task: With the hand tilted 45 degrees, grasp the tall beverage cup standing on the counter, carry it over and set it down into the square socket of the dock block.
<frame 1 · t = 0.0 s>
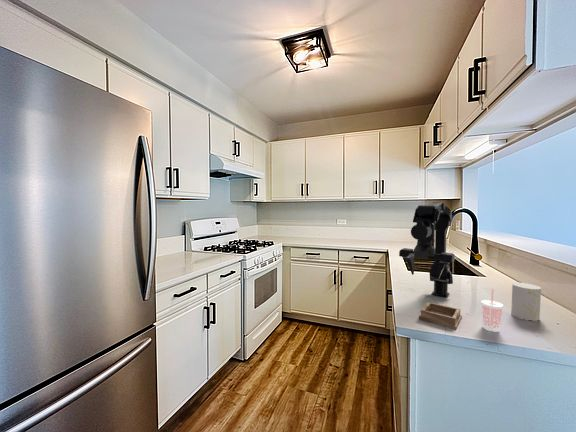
hand: (425, 276, 104), 15 cm above the counter, tool pointing down, fingers open, 9 cm apart
grey upright cylinder: (524, 316, 102), on the counter
beverage cup: (491, 329, 92), on the counter
dock: (440, 318, 100), on the counter
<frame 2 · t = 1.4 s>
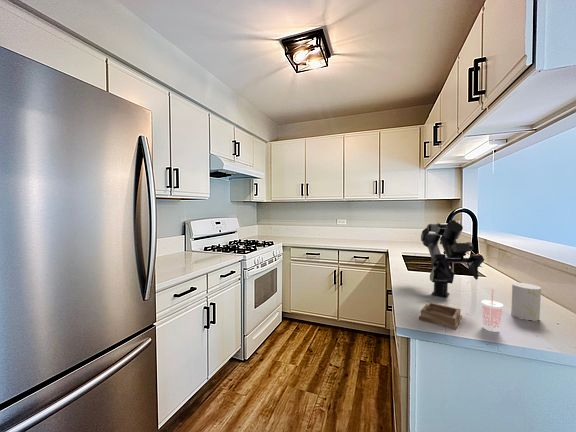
hand: (464, 278, 104), 14 cm above the counter, tool tilted 45°, fingers open, 9 cm apart
nothing on the counter moved.
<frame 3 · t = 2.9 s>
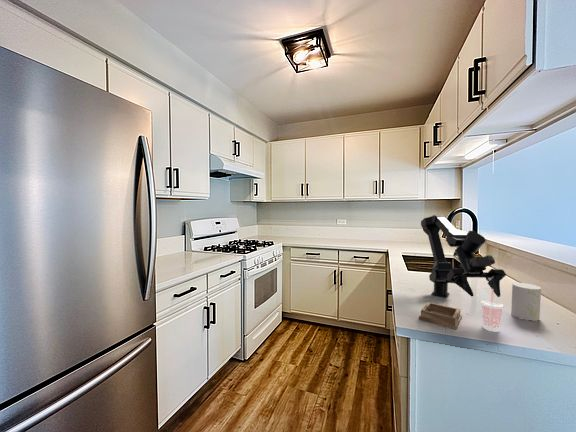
hand: (485, 296, 95), 10 cm above the counter, tool tilted 45°, fingers open, 9 cm apart
nothing on the counter moved.
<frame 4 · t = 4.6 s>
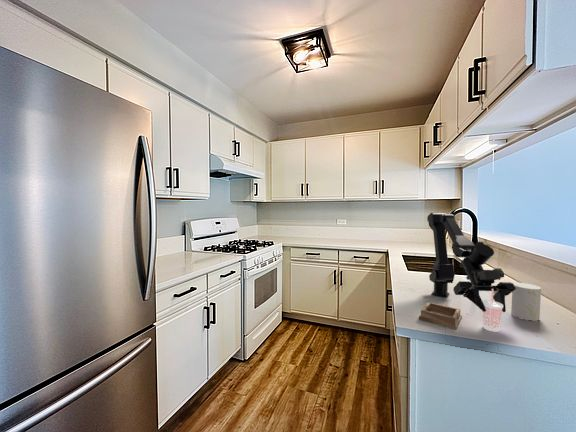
hand: (494, 311, 90), 7 cm above the counter, tool tilted 45°, fingers closed on beverage cup, 6 cm apart
beverage cup: (491, 329, 92), on the counter, touching gripper
everything else where it was.
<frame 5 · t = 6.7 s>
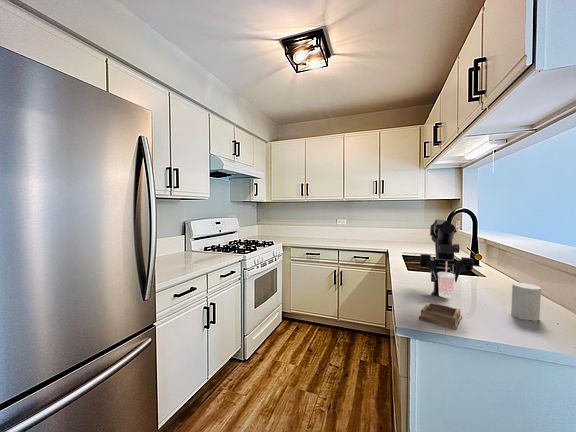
hand: (446, 280, 104), 13 cm above the counter, tool tilted 45°, fingers closed on beverage cup, 6 cm apart
beverage cup: (445, 296, 105), point 6 cm above the counter, touching gripper
everything else where it was.
when the fingers open (9 cm above the counter, at t = 9.1 s): beverage cup drops 1 cm, resting on dock.
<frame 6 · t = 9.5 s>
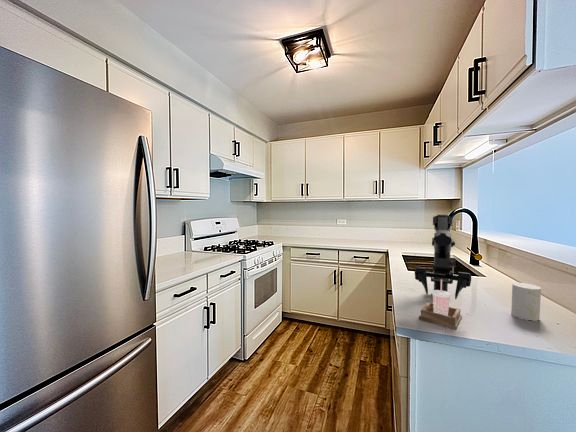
hand: (441, 296, 98), 9 cm above the counter, tool tilted 45°, fingers open, 9 cm apart
beverage cup: (440, 316, 100), point 1 cm above the counter, touching dock
everything else where it was.
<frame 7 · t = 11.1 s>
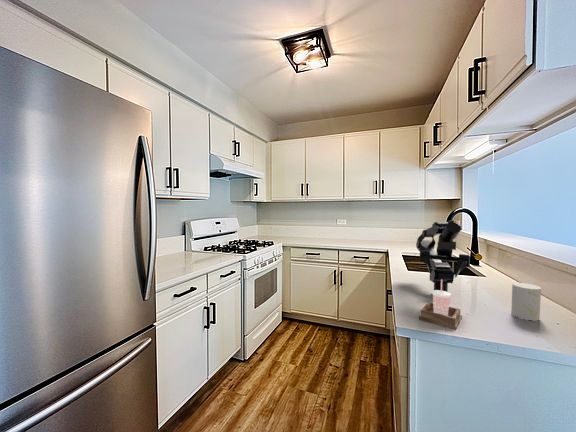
hand: (442, 275, 111), 13 cm above the counter, tool tilted 45°, fingers open, 9 cm apart
nothing on the counter moved.
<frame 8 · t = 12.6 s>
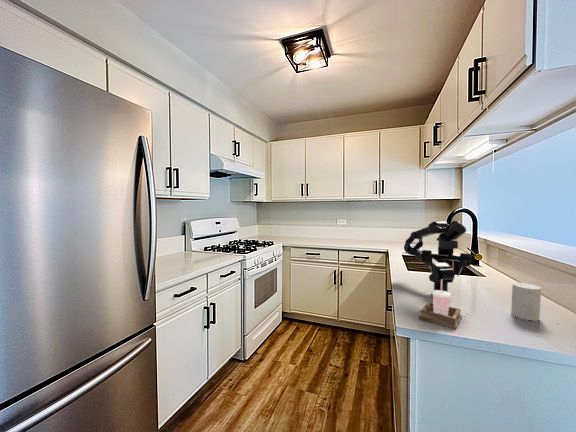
hand: (445, 274, 112), 14 cm above the counter, tool tilted 45°, fingers open, 9 cm apart
nothing on the counter moved.
at the end: beverage cup 0.2 cm from the dock (horizontally); beverage cup tilted 0°; the gripper is holding nothing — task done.
